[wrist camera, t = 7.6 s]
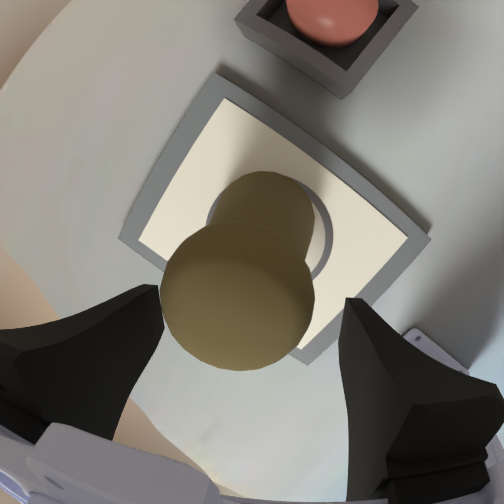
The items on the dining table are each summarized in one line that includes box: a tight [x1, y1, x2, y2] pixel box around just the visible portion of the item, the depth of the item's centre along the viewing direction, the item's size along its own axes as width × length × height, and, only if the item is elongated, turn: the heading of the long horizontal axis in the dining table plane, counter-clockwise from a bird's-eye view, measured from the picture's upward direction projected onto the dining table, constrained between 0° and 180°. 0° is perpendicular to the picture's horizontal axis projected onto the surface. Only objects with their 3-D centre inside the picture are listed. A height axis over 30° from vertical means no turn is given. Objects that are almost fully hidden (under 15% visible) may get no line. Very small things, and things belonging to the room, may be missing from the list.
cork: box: [160, 171, 315, 371], centre depth 14 cm, size 6×6×11 cm
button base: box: [234, 0, 419, 99], centre depth 13 cm, size 7×7×4 cm
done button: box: [286, 0, 378, 48], centre depth 12 cm, size 4×4×2 cm
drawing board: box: [118, 73, 431, 366], centre depth 20 cm, size 17×13×1 cm
